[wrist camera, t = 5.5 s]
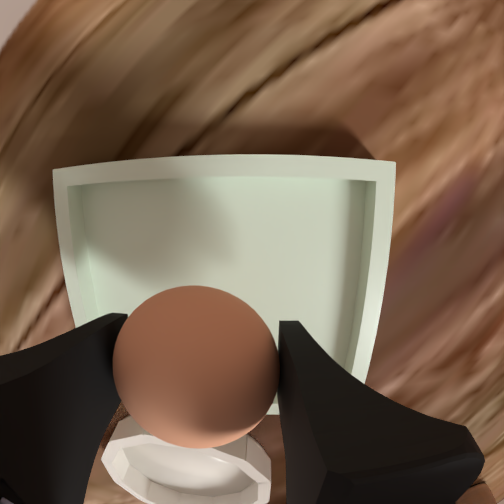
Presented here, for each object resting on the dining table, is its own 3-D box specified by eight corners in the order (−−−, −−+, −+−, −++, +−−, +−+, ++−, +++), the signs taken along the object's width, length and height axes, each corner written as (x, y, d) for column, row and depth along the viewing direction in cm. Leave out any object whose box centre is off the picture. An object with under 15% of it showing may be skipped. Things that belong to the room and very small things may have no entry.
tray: (110, 375, 16) (97, 395, 14) (76, 167, 13) (52, 169, 11) (349, 386, 16) (357, 410, 14) (377, 161, 12) (395, 162, 10)
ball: (155, 371, 12) (109, 458, 7) (141, 258, 11) (60, 325, 6) (274, 383, 12) (271, 486, 7) (284, 267, 10) (291, 354, 6)
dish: (135, 484, 20) (129, 504, 18) (95, 396, 17) (80, 419, 15) (267, 499, 20) (266, 521, 17) (273, 415, 16) (274, 445, 14)
